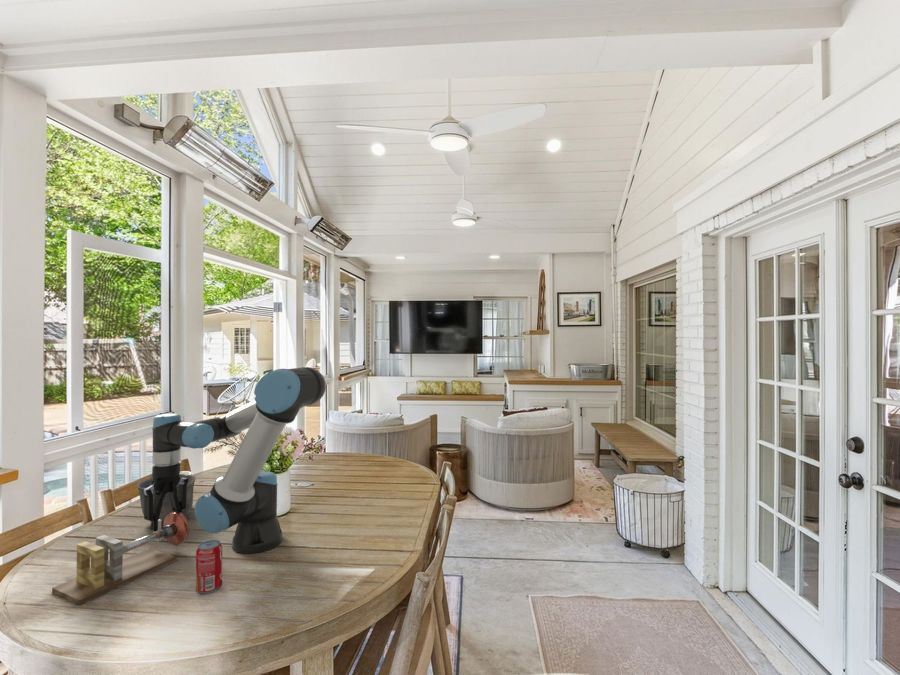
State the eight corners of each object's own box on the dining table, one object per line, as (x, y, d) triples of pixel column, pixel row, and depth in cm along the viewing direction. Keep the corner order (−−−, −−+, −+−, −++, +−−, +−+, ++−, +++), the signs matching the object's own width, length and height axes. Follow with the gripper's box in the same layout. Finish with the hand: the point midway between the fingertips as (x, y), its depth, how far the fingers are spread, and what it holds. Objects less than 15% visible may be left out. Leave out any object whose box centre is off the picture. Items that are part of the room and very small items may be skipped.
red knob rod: (189, 546, 140) (189, 514, 140) (129, 572, 124) (129, 536, 124) (168, 540, 144) (168, 509, 144) (108, 564, 129) (108, 529, 129)
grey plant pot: (151, 536, 152) (151, 492, 152) (127, 524, 161) (127, 483, 161) (203, 518, 167) (204, 478, 167) (179, 509, 176) (179, 471, 176)
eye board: (176, 560, 135) (176, 523, 135) (79, 604, 112) (79, 560, 112) (149, 551, 141) (150, 516, 141) (52, 592, 118) (52, 549, 118)
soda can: (194, 597, 116) (194, 550, 116) (197, 585, 122) (197, 540, 122) (221, 591, 118) (221, 546, 118) (222, 580, 124) (223, 536, 124)
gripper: (185, 455, 151) (184, 524, 151) (129, 468, 136) (128, 546, 135) (200, 458, 148) (199, 529, 148) (145, 471, 132) (143, 551, 132)
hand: (165, 537), depth 142 cm, fingers closed on red knob rod, 4 cm apart
